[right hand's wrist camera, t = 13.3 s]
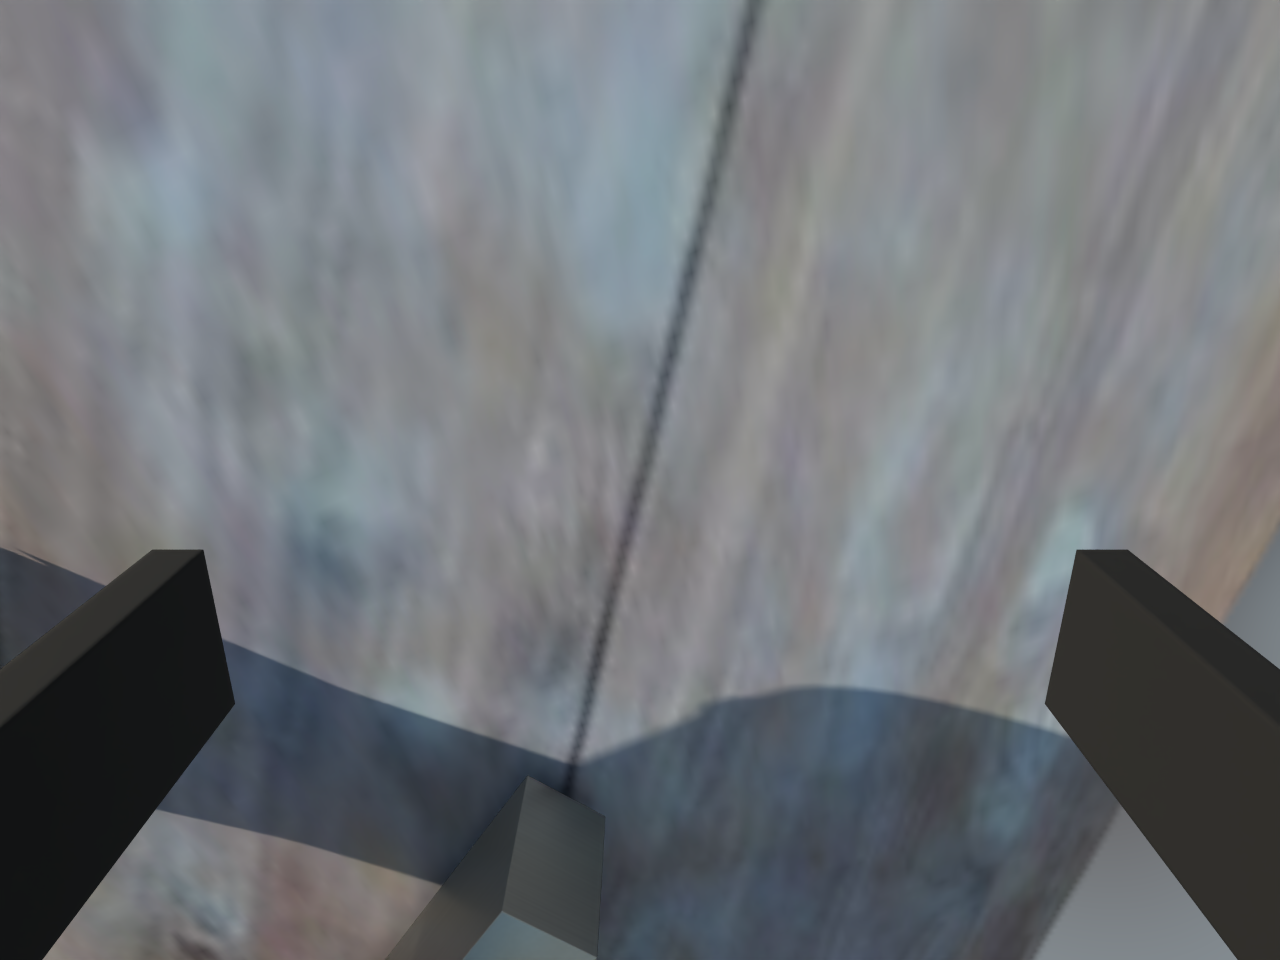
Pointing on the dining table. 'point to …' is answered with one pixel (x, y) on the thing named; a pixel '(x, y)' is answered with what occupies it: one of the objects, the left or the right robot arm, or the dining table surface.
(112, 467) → the dining table surface
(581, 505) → the dining table surface
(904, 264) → the dining table surface
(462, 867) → the bar
